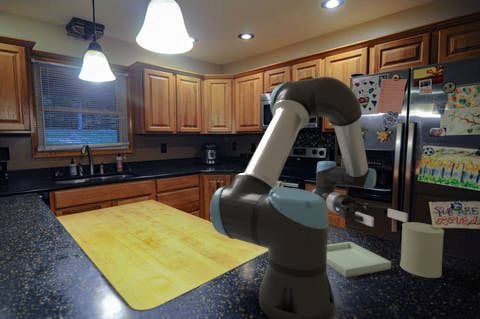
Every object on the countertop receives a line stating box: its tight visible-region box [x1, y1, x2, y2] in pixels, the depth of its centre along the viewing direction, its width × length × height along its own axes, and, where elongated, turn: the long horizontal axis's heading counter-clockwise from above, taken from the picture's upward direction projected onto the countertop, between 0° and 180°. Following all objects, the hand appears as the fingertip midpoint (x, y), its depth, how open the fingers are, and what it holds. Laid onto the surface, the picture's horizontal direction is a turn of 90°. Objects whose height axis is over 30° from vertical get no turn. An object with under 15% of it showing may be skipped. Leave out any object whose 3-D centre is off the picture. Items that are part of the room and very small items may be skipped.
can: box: [399, 221, 445, 279], centre depth 68 cm, size 9×9×12 cm
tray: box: [326, 241, 392, 278], centre depth 73 cm, size 15×15×2 cm
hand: (390, 220), depth 78 cm, fingers open, 13 cm apart
